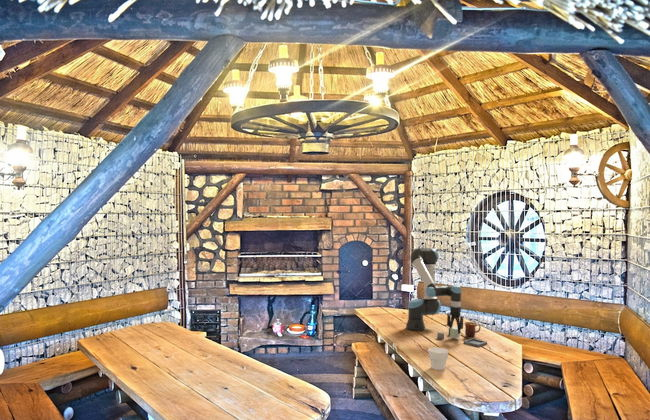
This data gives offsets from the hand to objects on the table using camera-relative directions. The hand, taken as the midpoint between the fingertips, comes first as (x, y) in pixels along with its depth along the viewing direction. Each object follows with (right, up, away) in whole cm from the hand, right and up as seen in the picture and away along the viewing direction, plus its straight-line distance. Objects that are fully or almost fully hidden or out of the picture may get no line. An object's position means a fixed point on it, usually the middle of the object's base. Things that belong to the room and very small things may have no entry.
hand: (454, 336), depth 390 cm
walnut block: (+1, -1, +12) cm, 12 cm away
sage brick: (0, 0, 0) cm, 0 cm away
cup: (-27, -3, -68) cm, 73 cm away
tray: (+12, -2, -13) cm, 18 cm away
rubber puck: (-10, -1, +1) cm, 11 cm away
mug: (+15, -2, +7) cm, 17 cm away
